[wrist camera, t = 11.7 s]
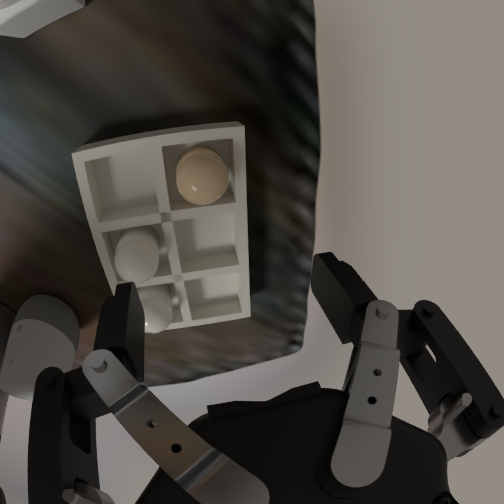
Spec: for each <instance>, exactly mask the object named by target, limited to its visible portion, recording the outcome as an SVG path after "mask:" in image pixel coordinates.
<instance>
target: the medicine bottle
mask: <svg viewBox="0 0 504 504" xmlns="http://www.w3.org/2000/svg"><path fill="white" fill-rule="evenodd" d="M84 6H85V0H0V35H4V36H11V37H18V38H25V37H27V36H28V35H30V34H32V33H33V32H35V31H37V30H39V29H40V28H42V27H44V26H46V25H48V24H50V23H52V22H54V21H56V20H58V19H60V18H62V17H64V16H66V15H68V14H70V13H72V12H74V11H77V10H79V9H81V8H83V7H84Z"/></svg>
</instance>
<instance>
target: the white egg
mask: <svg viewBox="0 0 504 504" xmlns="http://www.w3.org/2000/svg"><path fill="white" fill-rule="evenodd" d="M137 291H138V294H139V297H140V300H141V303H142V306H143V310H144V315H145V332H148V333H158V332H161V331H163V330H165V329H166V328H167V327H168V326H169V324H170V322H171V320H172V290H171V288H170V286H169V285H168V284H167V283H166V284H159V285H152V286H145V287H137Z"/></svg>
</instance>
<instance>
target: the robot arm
mask: <svg viewBox="0 0 504 504" xmlns="http://www.w3.org/2000/svg"><path fill="white" fill-rule="evenodd" d="M311 288H312V292H313V294H314V296H315V298H316V299H317V301H318V303H319V304H320V306H321V307H322V309H323V311H324V313H325V314H326V316H327V318H328V320H329V321H330V323H331V325H332V326H333V328H334V330H335V332H336V333H337V335H338V337H339V338H340V340H341V342H342V344H346V343H350V342H352V343H353V345H354V347H353V350H352V354H351V358H350V362H349V366H348V370H347V373H346V377H345V381H344V384H343V387H342V390H337V389H331V388H321V387H320V384H319V382H318V381H317V382H313V383H310V384H306V385H302V386H299V387H295V388H292V389H290V390H288V391H286V392H284V393H282V394H280V395H278V396H276V397H274V398H272V399H270V400H268V401H232V402H226V403H221V404H215V405H208V406H207V409H208V413H207V414H204V415H202V416H200V417H199V418H197V419H195V420H194V421H192V422H191V423H190V424H189V425H188V426H187V425H186V424H184V423H183V422H182V421H181V420H180V419H179V418H178V417H177V416H175V414H173V413H172V412H171V411H170V410H169V409H168V408H167V407H166V406H165V405H164V404H163V403H162V402H161V401H160V400H159V399H158V398H157V397H156V396H155V395H154V394H153V393H152V392H151V391H150V390H149V389H148V388H147V387H145V386H144V385H143V386H142V385H140V384H139V382H144V337H145V315H144V310H143V306H142V303H141V300H140V297H139V294H138V291H137V288H136V285H135V283H134V282H133V281H132V282H125V283H118V284H117V285H116V290H115V295H114V296H110V297H107V299H106V300H105V301H104V303H103V304H102V306H101V311H100V317H99V321H98V323H99V324H98V326H97V331H96V337H95V343H94V349H93V352H91V353H90V354H89V355H87V357H86V358H85V359H84V361H83V364H82V366H81V367H79V368H77V369H74V370H71V371H68V372H66V373H63V371H62V370H61V369H60V368H58V367H48V368H45V369H44V370H42V371H41V372H40V373H39V375H38V376H37V379H36V382H35V388H34V395H33V402H32V410H31V419H30V429H29V443H28V444H29V445H28V499H29V504H115V503H114V501H113V500H112V498H111V497H110V496H109V495H108V494H106V493H105V492H103V491H101V490H100V484H99V474H98V463H97V449H96V420H95V419H96V418H97V417H100V416H103V415H106V414H108V413H111V412H112V414H113V415H114V416H115V417H116V419H117V420H118V421H119V422H120V423H121V425H122V426H123V427H124V428H125V429H126V431H127V432H128V433H129V434H130V435H131V436H132V437H133V438H134V440H135V441H136V442H137V443H138V444H139V445H140V446H141V447H142V448H143V449H144V451H145V452H146V453H147V454H148V455H149V456H150V457H151V458H152V459H153V460H154V461H155V462H156V463H157V464H158V465H159V466H160V467H159V468H158V470H157V471H156V473H155V475H154V476H153V477H152V479H151V481H150V482H149V483H148V485H147V486H146V488H145V489H144V491H143V492H142V494H141V496H140V497H139V498H138V500H137V501H136V503H135V504H459V503H458V502H457V501H456V500H455V499H454V498H453V497H452V495H451V493H450V490H449V486H448V479H447V462H448V461H450V460H451V459H453V458H454V457H461V456H463V455H465V454H466V453H468V452H469V451H471V450H472V449H474V448H475V447H476V446H478V445H479V444H480V443H482V442H483V441H485V440H486V439H487V438H489V437H490V436H491V435H493V434H494V433H495V432H496V431H498V430H499V429H500V428H501V427H502V426H504V399H503V397H502V395H501V394H500V392H499V390H498V389H497V387H496V386H495V384H494V383H493V381H492V379H491V378H490V376H489V375H488V373H487V372H486V370H485V369H484V367H483V366H482V364H481V363H480V361H479V360H478V359H477V357H476V356H475V354H474V353H473V351H472V350H471V349H470V347H469V346H468V344H467V343H466V342H465V340H464V339H463V338H462V336H461V335H460V334H459V332H458V331H457V330H456V328H455V327H454V326H453V324H452V323H451V322H450V321H449V319H448V318H447V317H446V315H445V314H444V313H443V312H442V310H441V309H440V308H439V307H438V306H437V305H436V304H435V303H433V302H431V301H427V300H421V301H418V302H417V303H416V304H415V306H414V308H413V310H397V308H396V307H395V306H394V305H393V304H391V303H390V302H387V301H384V300H378V298H377V297H376V296H375V295H374V293H373V292H372V291H371V290H370V288H369V287H368V286H367V285H366V283H365V282H364V281H362V278H361V277H360V276H359V275H358V274H357V272H356V271H355V270H354V269H353V267H352V266H350V265H349V264H347V263H346V262H344V261H339V260H338V259H337V258H336V257H335V256H334V254H333V253H332V252H326V253H320V254H315V255H314V258H313V266H312V274H311ZM15 317H16V314H15V313H14V312H12V311H11V310H10V309H9V308H7V307H6V306H4V305H2V304H0V374H1V369H2V365H3V360H4V356H5V351H6V347H7V343H8V339H9V336H10V332H11V329H12V326H13V323H14V320H15ZM426 345H428V346H429V348H430V349H431V350H432V352H433V354H434V355H435V358H436V362H435V361H434V359H433V357H432V356H431V354H430V353H429V351H428V350H427V348H426ZM399 361H400V362H401V364H402V366H403V368H404V369H405V371H406V373H407V375H408V376H409V378H410V380H411V382H412V384H413V385H414V387H415V389H416V391H417V392H418V394H419V396H420V398H421V400H422V402H423V404H424V405H425V407H426V409H427V411H428V413H429V415H430V416H429V418H428V426H429V428H428V432H426V431H424V430H422V429H420V428H418V427H416V426H413V425H411V424H409V423H407V422H405V421H403V420H401V419H399V418H397V417H394V416H392V412H393V406H394V399H395V393H396V385H397V378H398V369H399ZM8 397H9V394H7V393H5V392H3V391H2V390H1V389H0V441H1V434H2V427H3V422H4V416H5V411H6V406H7V402H8ZM0 504H6V500H5V495H4V493H3V490H2V489H1V487H0Z"/></svg>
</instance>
